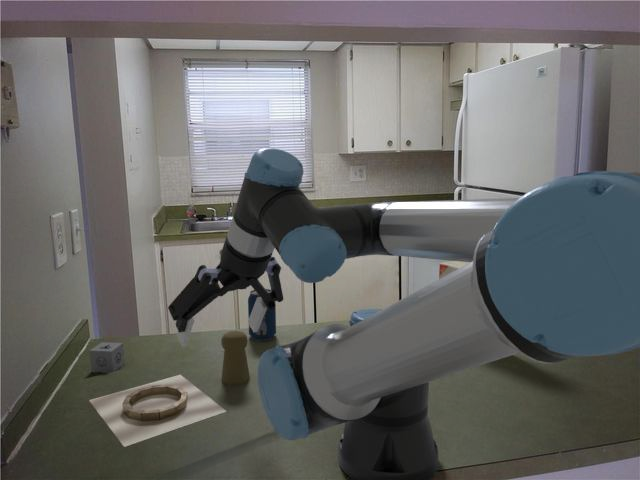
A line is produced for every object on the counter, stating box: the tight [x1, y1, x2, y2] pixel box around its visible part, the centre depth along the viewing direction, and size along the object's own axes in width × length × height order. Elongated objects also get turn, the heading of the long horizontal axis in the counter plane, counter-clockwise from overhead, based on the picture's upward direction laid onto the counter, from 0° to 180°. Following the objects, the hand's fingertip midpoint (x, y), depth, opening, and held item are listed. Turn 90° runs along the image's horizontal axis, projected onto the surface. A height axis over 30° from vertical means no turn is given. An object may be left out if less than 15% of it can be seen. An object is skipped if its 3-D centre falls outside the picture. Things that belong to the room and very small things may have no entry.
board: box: [88, 374, 228, 448], centre depth 94 cm, size 20×18×1 cm
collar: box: [122, 384, 188, 421], centre depth 94 cm, size 11×11×2 cm
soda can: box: [247, 288, 277, 342], centre depth 132 cm, size 7×7×12 cm
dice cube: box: [89, 341, 125, 374], centre depth 114 cm, size 5×5×5 cm
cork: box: [221, 330, 251, 386], centre depth 105 cm, size 6×6×11 cm
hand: (218, 333), depth 91 cm, fingers open, 13 cm apart
